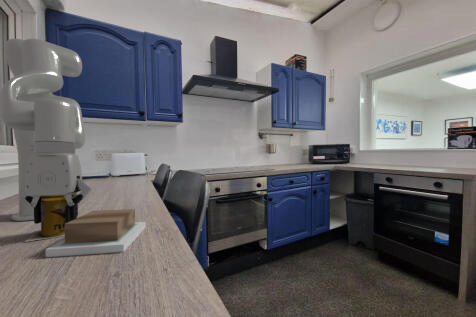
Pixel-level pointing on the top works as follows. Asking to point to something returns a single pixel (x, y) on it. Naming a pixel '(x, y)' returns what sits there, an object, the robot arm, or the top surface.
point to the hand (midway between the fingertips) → (56, 220)
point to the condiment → (51, 218)
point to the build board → (96, 244)
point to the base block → (100, 226)
